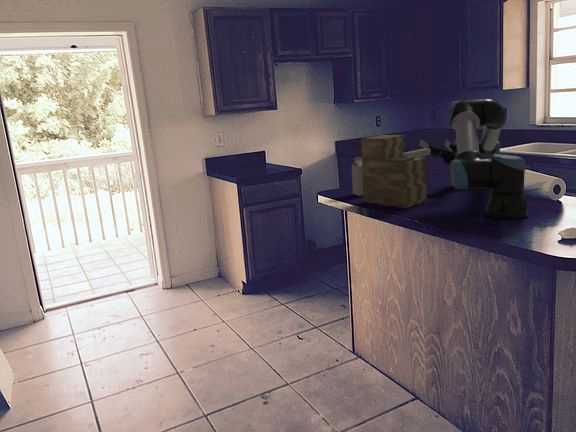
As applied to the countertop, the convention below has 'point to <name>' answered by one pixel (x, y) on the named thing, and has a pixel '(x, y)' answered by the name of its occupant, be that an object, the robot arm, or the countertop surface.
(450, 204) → the countertop surface
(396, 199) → the oak step block
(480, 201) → the countertop surface
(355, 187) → the milk carton
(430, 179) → the countertop surface
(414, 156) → the turner
